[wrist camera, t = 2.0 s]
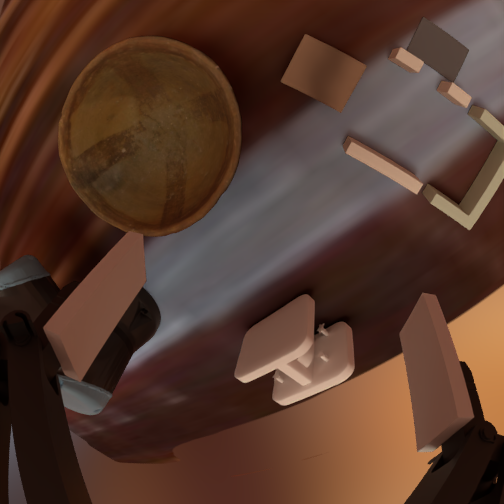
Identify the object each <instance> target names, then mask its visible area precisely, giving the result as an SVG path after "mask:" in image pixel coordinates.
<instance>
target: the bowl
mask: <svg viewBox="0 0 504 504" xmlns="http://www.w3.org/2000/svg"><path fill="white" fill-rule="evenodd" d="M58 132H59V134H58V147H59V156H60V159H61V163H62V166H63V168H64V171H65V173H66V176H67V178H68V181H69V183H70V184H71V186H72V187H73V189H74V190H75V192H76V193H77V194H78V196H79V197H80V198H81V199H82V200H83V202H84V203H85V204H86V205H87V206H88V207H89V209H90V210H91V211H92V212H93V213H94V214H96V215H97V216H98V217H99V218H100V219H102V220H103V221H105V222H107V223H109V224H111V225H113V226H115V227H117V228H119V229H121V230H122V231H125V232H127V233H128V232H129V231H130V232H135V233H139V234H143V236H153V237H158V236H166V235H169V234H172V233H177V232H179V231H182V230H184V229H186V228H188V227H190V226H191V225H192V224H194V223H196V222H197V221H199V220H201V219H202V218H203V217H204V216H205V215H206V214H207V213H208V212H209V211H210V210H211V209H212V208H213V207H214V206H215V204H216V203H217V201H218V200H219V198H220V196H221V195H222V194H223V193H224V192H225V191H226V190H227V188H228V186H229V185H230V183H231V181H232V179H233V177H234V174H235V172H236V169H237V166H238V163H239V158H240V153H241V144H242V119H241V114H240V110H239V105H238V102H237V99H236V97H235V94H234V91H233V89H232V86H231V84H230V83H229V81H228V79H227V78H226V76H225V74H224V73H223V71H222V70H221V69H220V68H219V66H218V65H217V64H216V63H215V62H214V61H213V60H212V59H211V58H210V57H208V56H207V55H206V54H204V53H203V52H201V51H199V50H197V49H195V48H193V47H192V46H190V45H188V44H186V43H184V42H181V41H178V40H175V39H171V38H167V37H162V36H139V37H132V38H128V39H126V40H123V41H120V42H118V43H116V44H114V45H112V46H110V47H108V48H107V49H105V50H104V51H102V52H100V53H99V54H98V55H97V56H96V57H94V58H93V59H92V60H91V61H90V62H89V63H88V64H87V66H86V67H85V68H84V69H83V70H82V72H81V73H80V74H79V76H78V77H77V79H76V80H75V82H74V84H73V85H72V87H71V89H70V91H69V94H68V96H67V99H66V101H65V104H64V106H63V109H62V117H61V119H60V121H59V126H58Z"/></svg>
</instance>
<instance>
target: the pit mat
mask: <svg viewBox="0 0 504 504" xmlns="http://www.w3.org/2000/svg"><path fill="white" fill-rule="evenodd" d="M406 51H408V52H409V53H411V54H412V55H414V56H416V57H417V58H419V59H420V60H422V61H423V62H424V63H425V64H427V65H428V66H430V67H431V68H433V69H434V70H435V71H437V72H438V73H440V74H441V75H442V76H444V77H445V78H447V79H448V80H449V81H451V82H452V83H454V81H455V79H456V77H457V75H458V73H459V71H460V68H461V66H462V64H463V62H464V60H465V58H466V56H467V54H468V52H469V49H467V48H466V47H465V46H464V45H462V44H461V43H460V42H458V41H457V40H456V39H454V38H453V37H452V36H450V35H449V34H448V33H446V32H445V31H443V30H442V29H441V28H439V27H438V26H436V25H435V24H433V23H432V22H430V21H429V20H427V19H426V18H424V17H423V18H422V20H421V22H420V24H419V26H418V28H417V30H416V32H415V34H414V36H413V38H412V40H411V42H410V44H409V46H408V48H407V50H406Z"/></svg>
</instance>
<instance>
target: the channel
mask: <svg viewBox="0 0 504 504" xmlns="http://www.w3.org/2000/svg"><path fill="white" fill-rule="evenodd" d="M388 60H390V61H392V62H393V63H395V64H397V65H398V66H400V67H402V68H403V69H405V70H406V71H408V72H410V73H419V71H420V69H421V67H422V65H423V63H424V62H423V61H422V60H420V59H419V58H417V57H416V56H414V55H412V54H411V53H409V52H408V51H406V50H405V49H403V48H401V47H400V48H396V49H393V50H392V52H391V54H390V56H389V58H388ZM436 91H438V92H439V93H440V94H442V95H443V96H444V97H446V98H447V99H448V100H450V101H451V102H452V103H454V104H456V105H459V106H462V107H465V108H467V106H468V104H469V102H470V100H471V98H472V97H470V96H469V95H468V94H467V93H465V92H464V91H463V90H462V89H460V88H459V87H458V86H456V85H455V84H454V83H452V82H445V81H441V82H440V84H439V86H438V88H437V90H436ZM343 149H344V151H345V153H346V154H348V155H350V156H352V157H354V158H355V159H357V160H359V161H361V162H363V163H365V164H366V165H368V166H370V167H372V168H373V169H375V170H377V171H379V172H380V173H382V174H384V175H386V176H387V177H389V178H391V179H392V180H394V181H396V182H397V183H399V184H401V185H402V186H404V187H406V188H407V189H409V190H410V191H412V192H414V193H415V194H417V193H418V192H419V190H420V188H421V187H422V185H423V183H422V182H421V181H420V180H419V179H418V178H417V177H416V176H415V175H414V174H413V173H411V172H410V171H408V170H406V169H405V168H403V167H402V166H400V165H398V164H397V163H395V162H393V161H392V160H390V159H388V158H387V157H385V156H383V155H382V154H380V153H378V152H376V151H375V150H373V149H371V148H369V147H368V146H366V145H364V144H362V143H361V142H359V141H357V140H355V139H353V138H351V137H349V136H348V137H347V139H346V141H345V142H344V144H343Z"/></svg>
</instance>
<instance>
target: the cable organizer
mask: <svg viewBox="0 0 504 504" xmlns="http://www.w3.org/2000/svg"><path fill="white" fill-rule="evenodd" d="M314 314H315V301H314V300H313V299H312V298H311V297H310V296H309V295H307V294H304V295H301V296H299V297H297V298H296V299H294V300H293V301H291V302H290V303H288V304H287V305H285V306H284V307H282V308H281V309H279V310H277V311H276V312H274V313H273V314H271V315H270V316H268V317H267V318H265V319H263V320H262V321H260V322H259V323H257V324H256V325H254V326H253V327H251V328H250V329H249V330H248V332H247V333H246V335H245V336H244V340H243V343H242V347H241V351H240V355H239V359H238V362H237V366H236V370H235V377H236V378H237V379H238V380H240V381H242V382H243V383H246V382H249V381H252V380H254V379H256V378H258V377H260V376H262V375H264V374H267V373H269V372H271V371H273V370H275V369H277V370H276V372H275V375H274V376H273V378H274V382H275V383H274V389H273V395H272V398H273V400H274V401H276V402H277V403H279V404H281V405H289V404H291V403H294V402H296V401H299V400H301V399H304V398H306V397H309V396H311V395H314V394H316V393H318V392H321V391H323V390H325V389H328V388H330V387H332V386H334V385H337V384H339V383H341V382H343V381H345V380H346V379H347V378H348V377H349V376H350V375H352V372H353V371H354V351H353V337H352V329H351V327H349V326H348V325H347V324H346V323H345V322H337V323H335V324H333V325H332V326H330V327H328V328H326V329H324V328H323V326H324V324H322V325H321V324H319V328H318V330H317V331H319V333H318V334H316V335H314Z"/></svg>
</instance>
